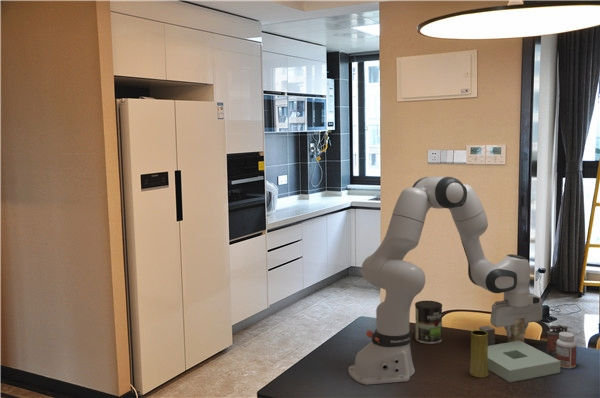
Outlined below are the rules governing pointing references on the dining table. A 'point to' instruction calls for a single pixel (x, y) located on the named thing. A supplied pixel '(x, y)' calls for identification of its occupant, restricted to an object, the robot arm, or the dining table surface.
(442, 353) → the dining table surface
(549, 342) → the lighter
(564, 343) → the pill bottle
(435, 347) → the dining table surface
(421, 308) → the coffee can
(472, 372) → the vase
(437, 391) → the dining table surface
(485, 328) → the short peg
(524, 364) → the socket plate
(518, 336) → the long peg
